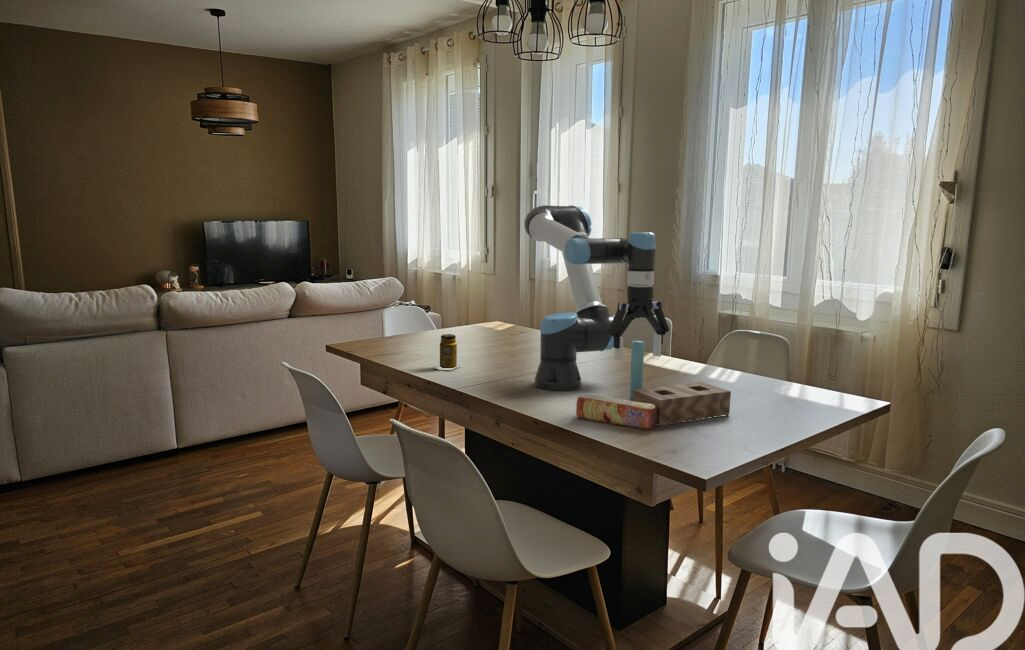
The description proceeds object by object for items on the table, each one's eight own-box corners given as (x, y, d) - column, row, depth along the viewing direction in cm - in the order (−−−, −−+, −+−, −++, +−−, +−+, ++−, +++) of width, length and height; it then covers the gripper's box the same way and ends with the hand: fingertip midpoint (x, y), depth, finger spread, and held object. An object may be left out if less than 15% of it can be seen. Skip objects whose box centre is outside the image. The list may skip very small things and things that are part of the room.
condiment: (461, 367, 247) (461, 334, 245) (450, 371, 239) (449, 338, 237) (443, 365, 249) (443, 332, 248) (431, 369, 242) (431, 336, 240)
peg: (634, 403, 201) (636, 343, 198) (627, 400, 204) (629, 341, 201) (644, 402, 202) (646, 342, 200) (636, 399, 206) (639, 340, 203)
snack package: (657, 425, 180) (658, 401, 179) (649, 432, 174) (651, 406, 173) (583, 413, 190) (584, 390, 189) (573, 419, 184) (574, 395, 183)
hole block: (659, 426, 179) (660, 400, 178) (632, 414, 190) (633, 389, 189) (729, 415, 189) (730, 391, 188) (699, 405, 200) (701, 381, 199)
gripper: (611, 288, 189) (609, 363, 192) (683, 285, 200) (680, 356, 203) (597, 285, 196) (595, 358, 199) (666, 283, 207) (664, 352, 210)
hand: (638, 357), depth 201 cm, fingers open, 13 cm apart
